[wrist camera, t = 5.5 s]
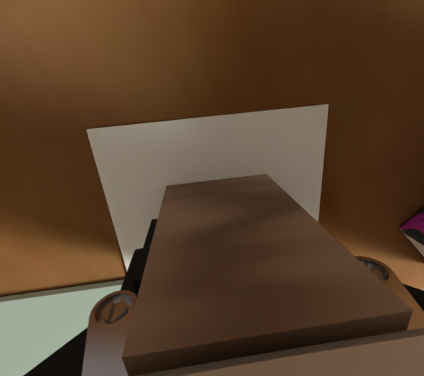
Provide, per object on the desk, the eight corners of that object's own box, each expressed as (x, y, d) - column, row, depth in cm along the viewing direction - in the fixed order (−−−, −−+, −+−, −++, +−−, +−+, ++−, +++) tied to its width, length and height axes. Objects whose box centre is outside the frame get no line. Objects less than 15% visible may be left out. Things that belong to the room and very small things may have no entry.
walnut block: (266, 173, 11) (413, 310, 4) (266, 255, 13) (367, 454, 6) (166, 185, 11) (122, 357, 4) (180, 267, 13) (170, 493, 5)
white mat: (326, 104, 11) (329, 104, 10) (310, 284, 15) (312, 287, 14) (87, 128, 10) (85, 129, 10) (139, 309, 14) (138, 313, 14)
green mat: (156, 274, 13) (155, 279, 13) (184, 396, 18) (184, 402, 17) (-62, 305, 13) (-69, 312, 12) (23, 424, 17) (20, 431, 17)
